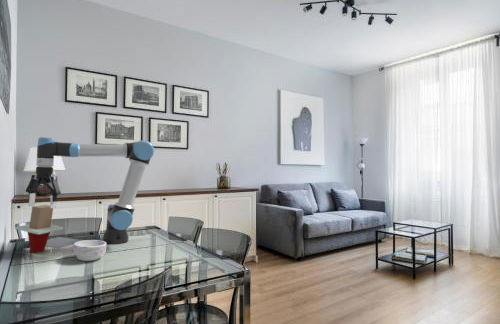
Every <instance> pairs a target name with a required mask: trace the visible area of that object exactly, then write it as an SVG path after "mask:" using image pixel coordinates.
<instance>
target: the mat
mask: <svg viewBox="0 0 500 324" xmlns="http://www.w3.org/2000/svg"><path fill="white" fill-rule="evenodd" d="M83 240H84V239H76V238H71V237H69V238H68V237H62V236H58V237H52V238H48V240H47V243H46V246H45V248H46V247H47V248H52V249H62V248H66V247H69V246H72V245H73V244H74V243H75V242H78V241H83Z"/></svg>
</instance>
